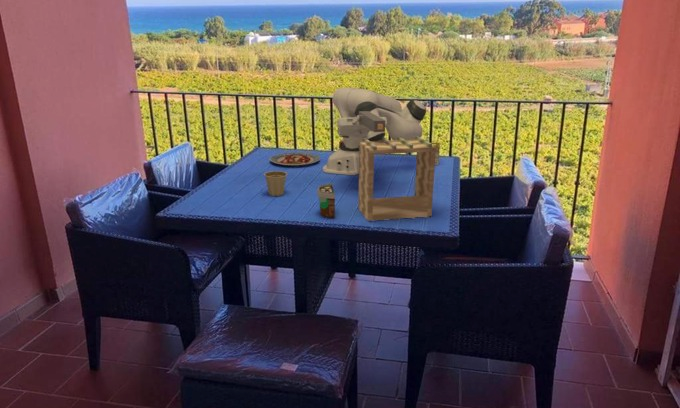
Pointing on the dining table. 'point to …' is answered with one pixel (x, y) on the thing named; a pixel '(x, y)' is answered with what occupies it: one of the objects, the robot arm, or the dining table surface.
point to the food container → (327, 200)
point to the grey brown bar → (372, 121)
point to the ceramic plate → (294, 159)
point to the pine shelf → (397, 205)
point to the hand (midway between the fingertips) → (366, 116)
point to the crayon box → (437, 153)
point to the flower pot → (275, 182)
